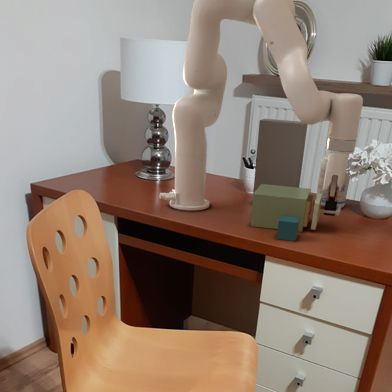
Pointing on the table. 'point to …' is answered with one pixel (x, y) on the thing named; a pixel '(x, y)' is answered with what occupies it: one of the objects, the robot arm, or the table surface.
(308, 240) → the table surface
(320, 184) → the supplement tub
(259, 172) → the tall taupe upright panel
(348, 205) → the table surface
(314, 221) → the drawer
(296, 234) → the block
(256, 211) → the cabinet
